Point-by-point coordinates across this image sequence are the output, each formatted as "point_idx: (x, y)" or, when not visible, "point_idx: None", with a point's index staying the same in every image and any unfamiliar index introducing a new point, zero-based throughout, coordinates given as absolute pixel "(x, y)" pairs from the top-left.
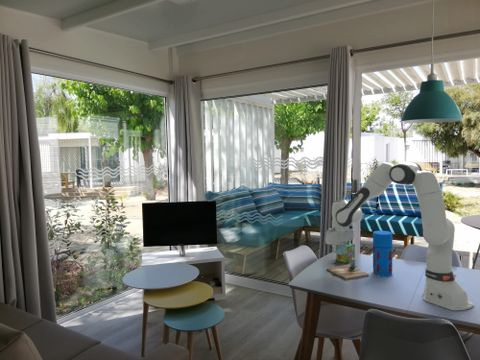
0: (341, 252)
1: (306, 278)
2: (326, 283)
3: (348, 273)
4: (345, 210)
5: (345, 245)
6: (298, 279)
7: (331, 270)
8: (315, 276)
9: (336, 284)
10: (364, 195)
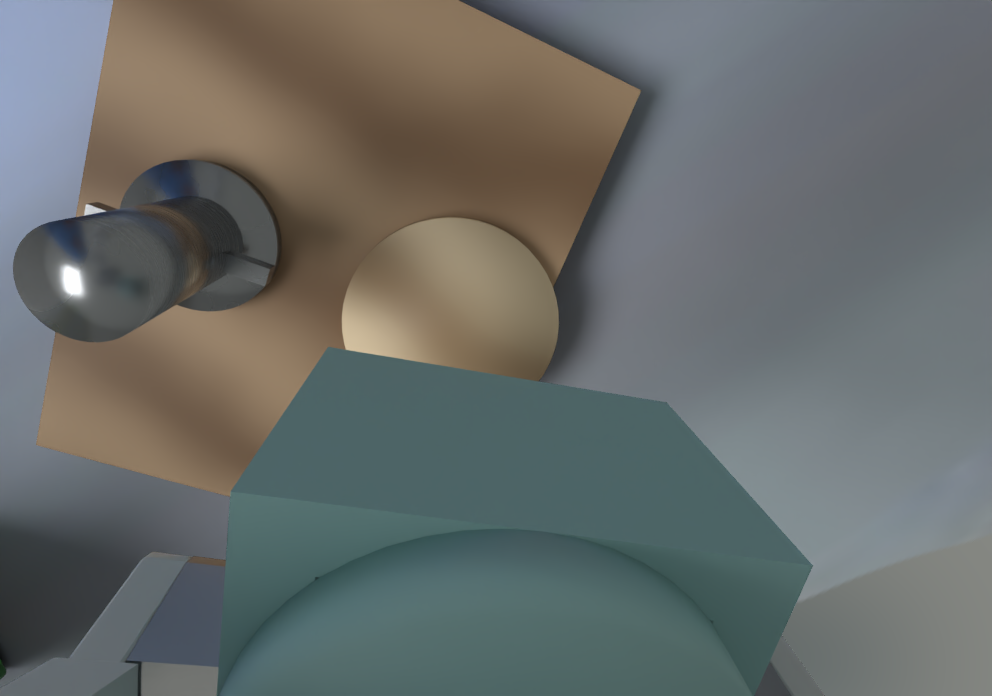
0: (619, 422)
1: (861, 499)
2: (910, 226)
3: (413, 187)
4: None
5: (95, 685)
6: (933, 533)
7: None
8: (742, 476)
9: (882, 93)
10: None
